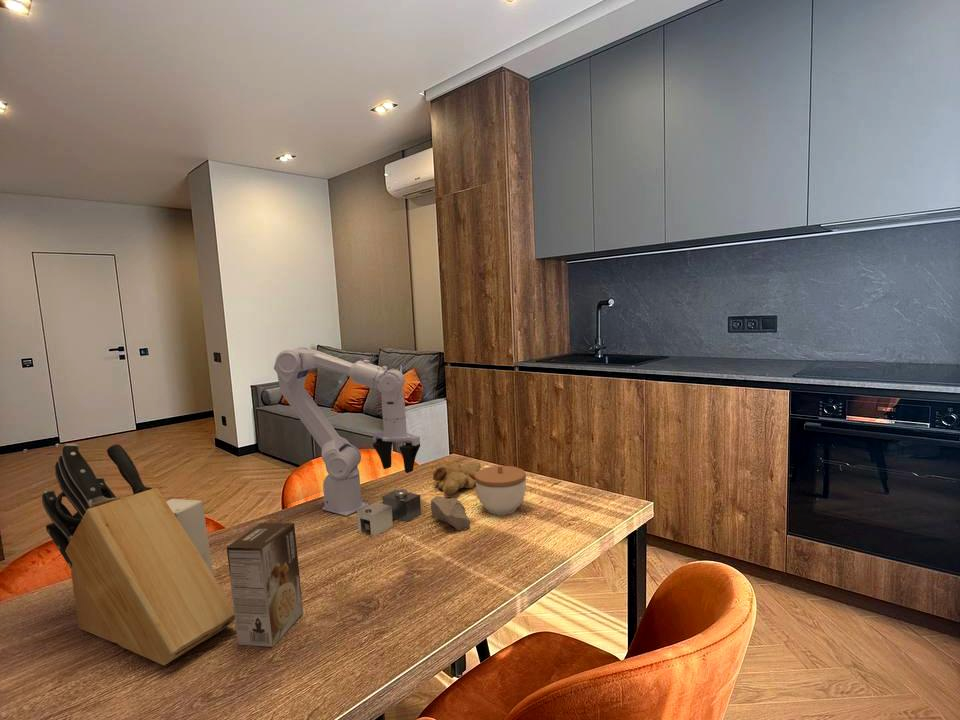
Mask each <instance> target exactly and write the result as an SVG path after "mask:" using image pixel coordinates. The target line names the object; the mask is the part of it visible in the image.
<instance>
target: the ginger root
mask: <svg viewBox="0 0 960 720" xmlns="http://www.w3.org/2000/svg"><path fill="white" fill-rule="evenodd" d="M461 464H462V463H460V462H459V463H457V462H450V463H446V464H442V465H439V466H437V467H436V468H435V470H434V471H433V472H432V476H433V477H432V480H433V481H435V482H438V486H437V488H438V489H440V490H442V492H444V493H446V494H450V495H451V494H454V493H457V491H458V490H459V489H462V488H465V489H471V488H473V487H474V486H475V474H476V473H477V472H478V471H479V470H481V467H482V466H481V463H480V462H471V463H467V464H464V465H462V466H461Z"/></svg>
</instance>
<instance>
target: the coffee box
mask: <svg viewBox="0 0 960 720" xmlns="http://www.w3.org/2000/svg"><path fill="white" fill-rule="evenodd" d="M226 554H227V563H228V570H229V571H228V572H229V579H230V588H231V589H230V590H231V598H232V605H233V607H234V615H235V619H234V621H235V631H236V632H235V633H236V640H237V644H238V645H240V646H253V647H266V648H267V647H269V648H272V647H275V645H277V643H278V642H279V641H280V640H281V639H282V638H283V636H285V634H286V633H287V632H288V630H289V629H291V628H292V626H293V625H294V624H295V623H296V622H297V621H298V620H299V618H300V617H301V615H303V614H304V608H303V598H302V597H303V596H302V589H301V588H302V586H301V578H300V568H299V567H300V566H299V558H298V549H297V537H296V528H295V523H294V522H260V523H258V524H257V525H256V526H254V527H253V528H252V529H250V530H249V531H247V532H246V533H245V534H243V535H242V536H240V537H239V538H238V539H236V540H235V541H233V542H232V543H230V544H229V545H227V546H226Z"/></svg>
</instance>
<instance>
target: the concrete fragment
mask: <svg viewBox="0 0 960 720" xmlns="http://www.w3.org/2000/svg"><path fill="white" fill-rule="evenodd" d="M430 511H431V514H432V516H433V517H435V518H437V519H438V520H440V521H443V522H444V523H445V522H446V523H447V524H449V525H450V526H452V527H454V529H455V530H457V531H461V530H464V529H465V530H468V529H469V530H470V528H471V520H470V519H469V517H468V515H467V514H466V513H467V512H466V508H465V506H464V505H463V504H462V502H461V501H460V500H459V499H458V498H457V497H453V498H452V497H451V496H448V495H447V496H445V497H443V496H440V495H437V496H436V495H435V496H434V497H433V498H432V499H431V500H430Z"/></svg>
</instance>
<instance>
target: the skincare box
mask: <svg viewBox="0 0 960 720" xmlns="http://www.w3.org/2000/svg"><path fill="white" fill-rule="evenodd" d="M165 501H166V502H167V504H168V505H169V507H170V509H171V510H172V512H173V513H174V515H175V516H176V518H177V519H178V521H179V523H180V524H181V526H182V527H183V529H184V530H185V532H186V533H187V535H188V537H189V538H190V540H191V541H192V543H193V544H194V546H195V547H196V549H197V550H198V552H199V554H200V555H201V557H202V558H203V560H204V561H205V563H206V565H207V566H208V568H209V569H210V571H211V573H212V574H213V575H214V571H213V564H212V556H211V552H210V551H211V550H210V545H209V536H208V529H207V525H206V524H207V522H206V517H205V511H204V503H203V502H204V501H203V500H196V499H194V500H193V499H180V498H179V499H177V498H171V499H168V500H165Z"/></svg>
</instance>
